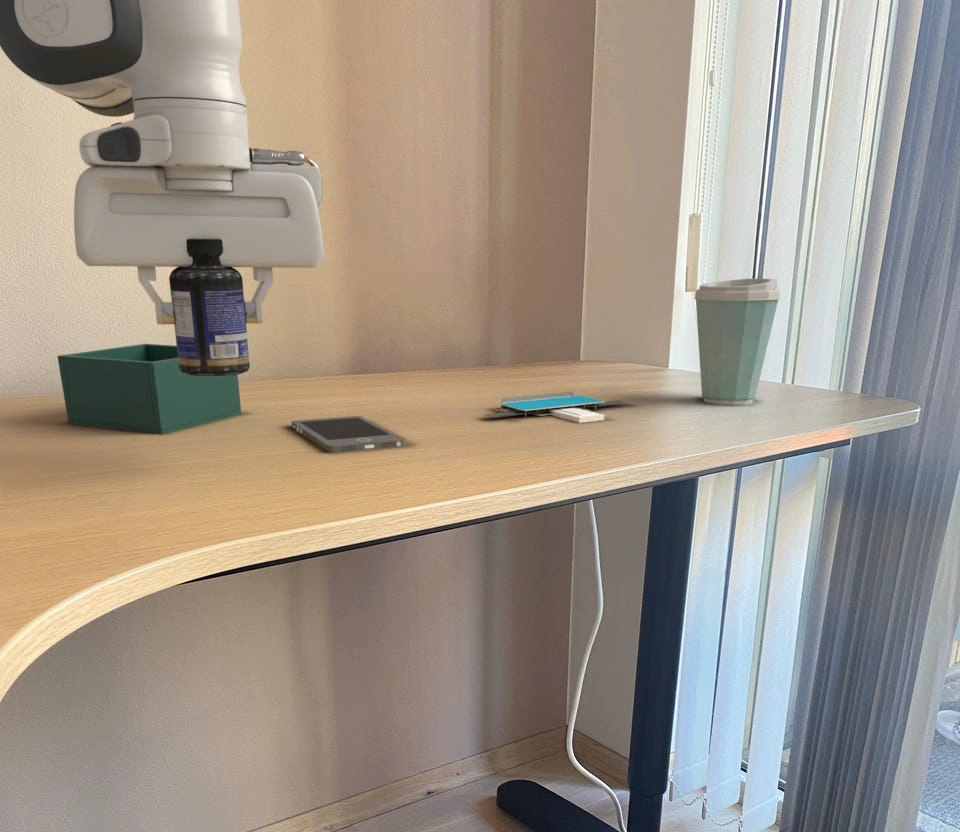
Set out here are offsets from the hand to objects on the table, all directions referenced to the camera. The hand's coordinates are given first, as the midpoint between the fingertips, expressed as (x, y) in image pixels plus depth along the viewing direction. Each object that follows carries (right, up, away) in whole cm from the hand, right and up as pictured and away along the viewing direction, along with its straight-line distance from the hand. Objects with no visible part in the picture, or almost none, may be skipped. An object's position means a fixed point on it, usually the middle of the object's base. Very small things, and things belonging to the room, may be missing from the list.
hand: (209, 323), depth 83 cm
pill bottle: (0, -4, +2) cm, 4 cm away
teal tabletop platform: (+33, -1, +32) cm, 46 cm away
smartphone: (+9, -6, +19) cm, 22 cm away
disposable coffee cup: (+56, +3, +41) cm, 69 cm away
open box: (-14, -2, +28) cm, 31 cm away
